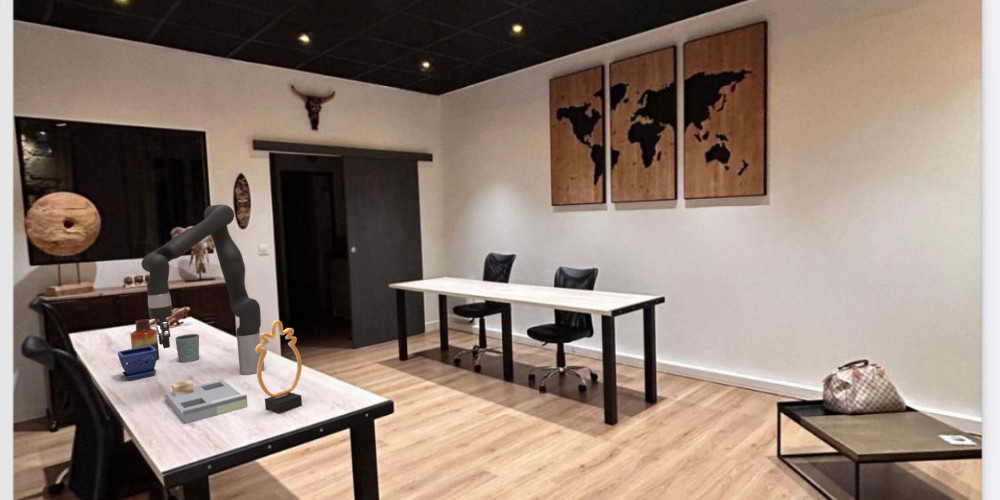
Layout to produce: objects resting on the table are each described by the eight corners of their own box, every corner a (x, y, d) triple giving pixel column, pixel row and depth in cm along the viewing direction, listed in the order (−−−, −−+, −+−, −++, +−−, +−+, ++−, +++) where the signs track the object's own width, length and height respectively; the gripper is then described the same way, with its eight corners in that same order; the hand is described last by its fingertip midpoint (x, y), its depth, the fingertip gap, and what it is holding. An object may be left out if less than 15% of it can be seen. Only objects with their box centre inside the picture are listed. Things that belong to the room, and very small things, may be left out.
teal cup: (187, 357, 262) (185, 333, 261) (205, 357, 260) (203, 333, 259) (172, 363, 252) (170, 339, 251) (191, 363, 250) (189, 338, 249)
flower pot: (123, 383, 224) (120, 356, 223) (119, 376, 234) (117, 350, 233) (159, 375, 232) (157, 349, 231) (154, 369, 242) (152, 344, 241)
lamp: (269, 417, 178) (261, 326, 175) (254, 413, 183) (247, 324, 180) (311, 401, 192) (305, 317, 189) (297, 397, 197) (290, 315, 194)
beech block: (190, 388, 203) (189, 379, 203) (193, 392, 199) (193, 383, 198) (172, 392, 199) (171, 383, 199) (175, 396, 195) (174, 387, 194)
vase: (149, 363, 253) (145, 322, 251) (127, 364, 253) (123, 323, 252) (164, 357, 264) (160, 317, 262) (143, 357, 264) (139, 318, 262)
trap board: (222, 386, 213) (222, 376, 213) (247, 406, 189) (246, 395, 189) (165, 400, 200) (164, 389, 199) (184, 423, 176) (183, 411, 176)
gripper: (174, 305, 200) (179, 347, 201) (167, 301, 210) (172, 340, 212) (151, 309, 195) (156, 351, 196) (145, 304, 205) (150, 345, 207)
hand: (164, 345), depth 204 cm, fingers open, 8 cm apart
